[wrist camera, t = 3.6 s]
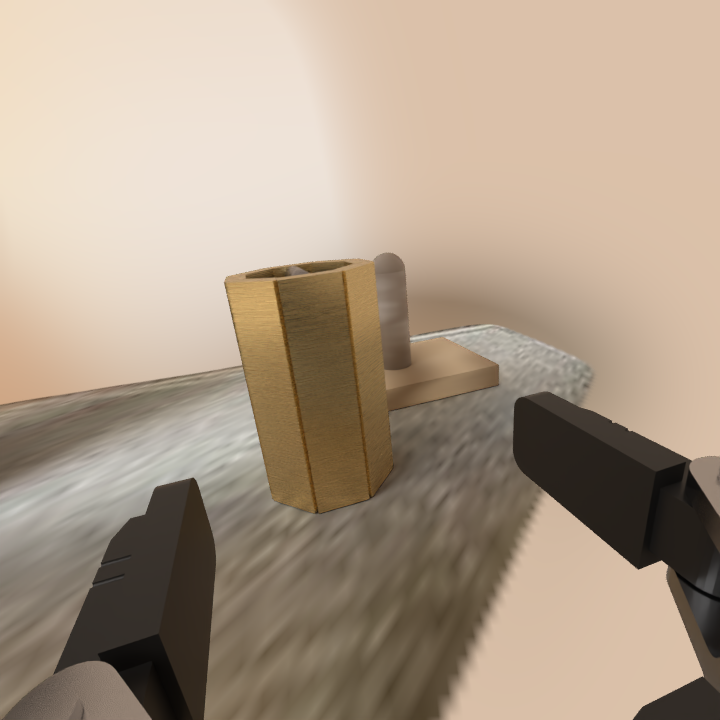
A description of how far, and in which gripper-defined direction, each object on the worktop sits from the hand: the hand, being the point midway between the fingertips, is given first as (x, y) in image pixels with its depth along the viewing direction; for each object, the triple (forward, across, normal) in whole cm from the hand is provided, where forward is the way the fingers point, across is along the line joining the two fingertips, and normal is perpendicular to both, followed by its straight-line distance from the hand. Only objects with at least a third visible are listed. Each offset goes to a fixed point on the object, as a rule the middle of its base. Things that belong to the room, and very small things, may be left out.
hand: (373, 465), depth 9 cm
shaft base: (+18, -7, +6) cm, 20 cm away
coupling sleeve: (+9, 0, +6) cm, 11 cm away
